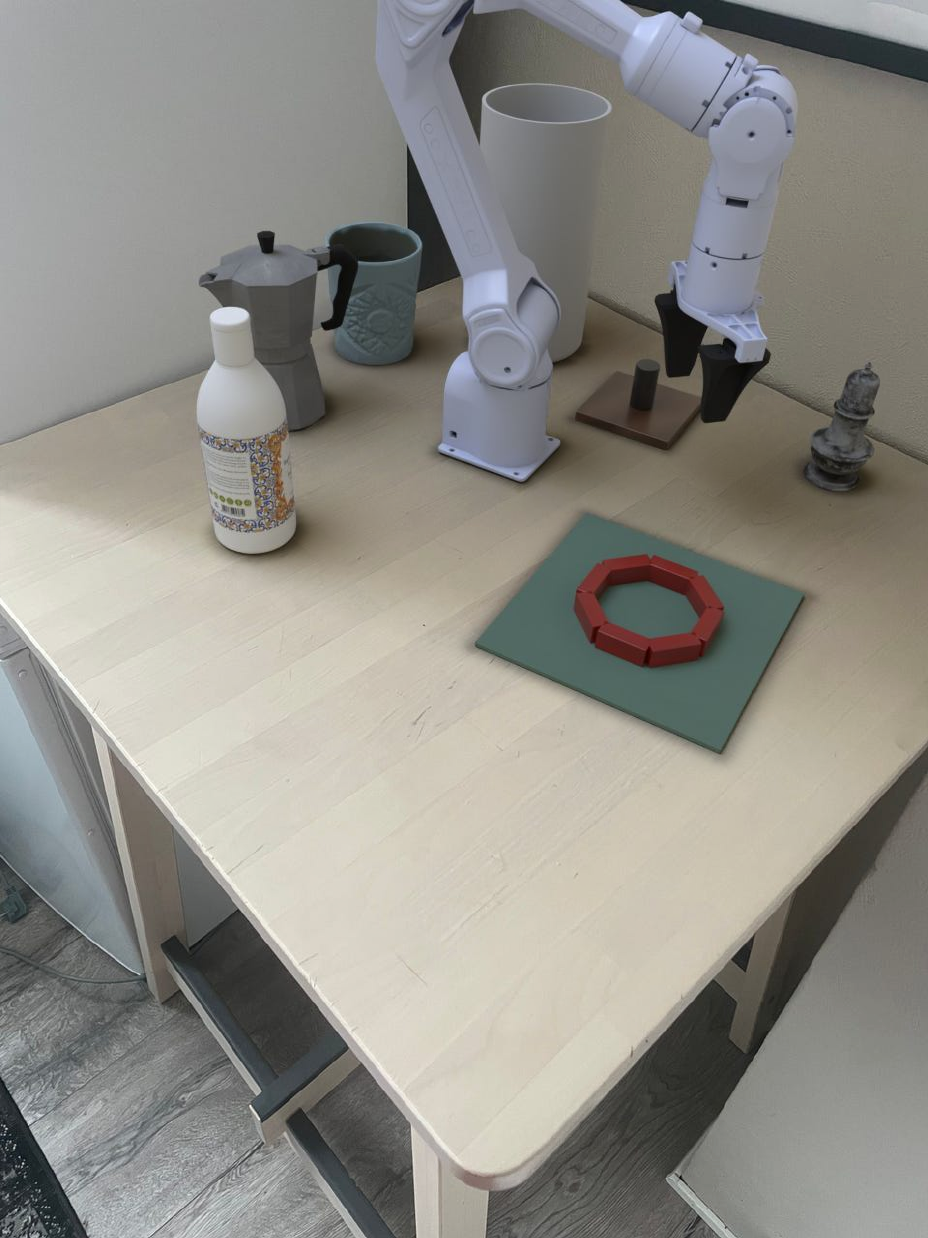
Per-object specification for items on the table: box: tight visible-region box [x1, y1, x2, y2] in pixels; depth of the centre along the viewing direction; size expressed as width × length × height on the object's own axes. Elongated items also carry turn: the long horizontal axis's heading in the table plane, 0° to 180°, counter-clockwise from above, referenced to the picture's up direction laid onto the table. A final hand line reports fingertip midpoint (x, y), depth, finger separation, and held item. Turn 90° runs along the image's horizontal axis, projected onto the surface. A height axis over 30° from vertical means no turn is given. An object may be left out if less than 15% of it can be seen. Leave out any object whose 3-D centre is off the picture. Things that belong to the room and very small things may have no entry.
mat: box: [474, 512, 805, 754], centre depth 82 cm, size 20×20×1 cm
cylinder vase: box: [479, 83, 613, 364], centre depth 108 cm, size 12×12×25 cm
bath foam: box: [196, 307, 297, 555], centre depth 82 cm, size 7×7×20 cm
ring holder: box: [574, 358, 702, 451], centre depth 104 cm, size 10×10×6 cm
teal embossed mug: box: [323, 221, 423, 366], centre depth 109 cm, size 10×10×12 cm
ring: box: [574, 554, 724, 668], centre depth 81 cm, size 11×11×2 cm
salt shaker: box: [802, 361, 881, 492], centre depth 95 cm, size 6×6×12 cm
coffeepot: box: [198, 230, 358, 432], centre depth 98 cm, size 15×9×18 cm, turn 120°
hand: (694, 397), depth 90 cm, fingers open, 7 cm apart
